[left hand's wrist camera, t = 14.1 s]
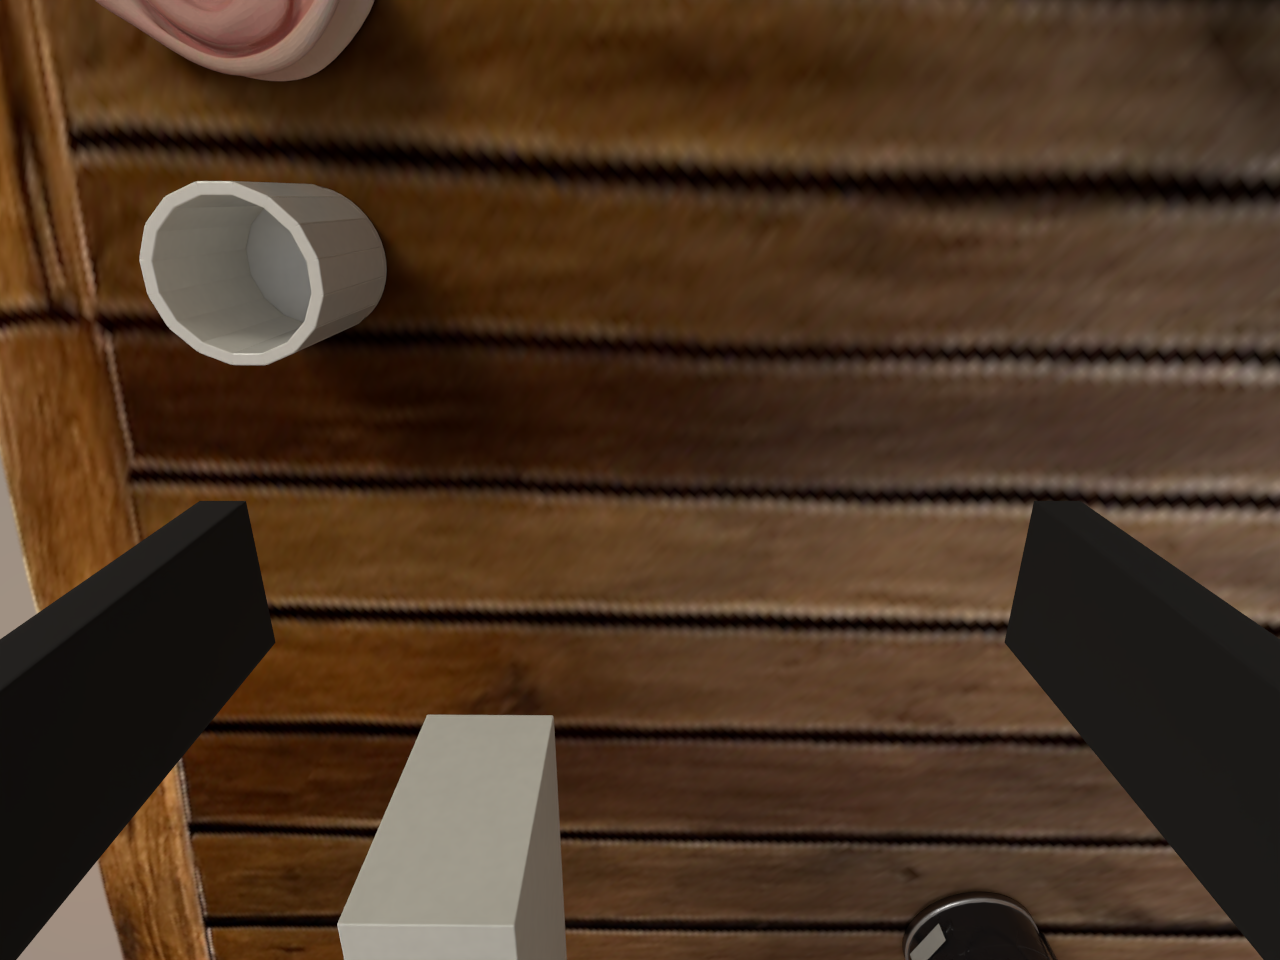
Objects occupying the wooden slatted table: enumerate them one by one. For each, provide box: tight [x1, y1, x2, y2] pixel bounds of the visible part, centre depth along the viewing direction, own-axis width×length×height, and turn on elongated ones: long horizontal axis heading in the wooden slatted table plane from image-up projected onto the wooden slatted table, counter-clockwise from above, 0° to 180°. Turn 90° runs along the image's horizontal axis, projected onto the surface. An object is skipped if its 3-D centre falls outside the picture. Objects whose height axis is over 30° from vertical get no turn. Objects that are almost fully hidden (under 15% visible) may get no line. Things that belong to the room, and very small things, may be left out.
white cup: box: [139, 181, 387, 365], centre depth 33 cm, size 7×7×8 cm
